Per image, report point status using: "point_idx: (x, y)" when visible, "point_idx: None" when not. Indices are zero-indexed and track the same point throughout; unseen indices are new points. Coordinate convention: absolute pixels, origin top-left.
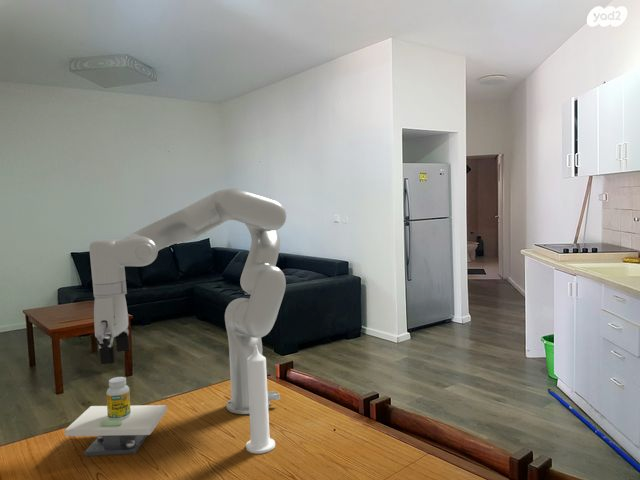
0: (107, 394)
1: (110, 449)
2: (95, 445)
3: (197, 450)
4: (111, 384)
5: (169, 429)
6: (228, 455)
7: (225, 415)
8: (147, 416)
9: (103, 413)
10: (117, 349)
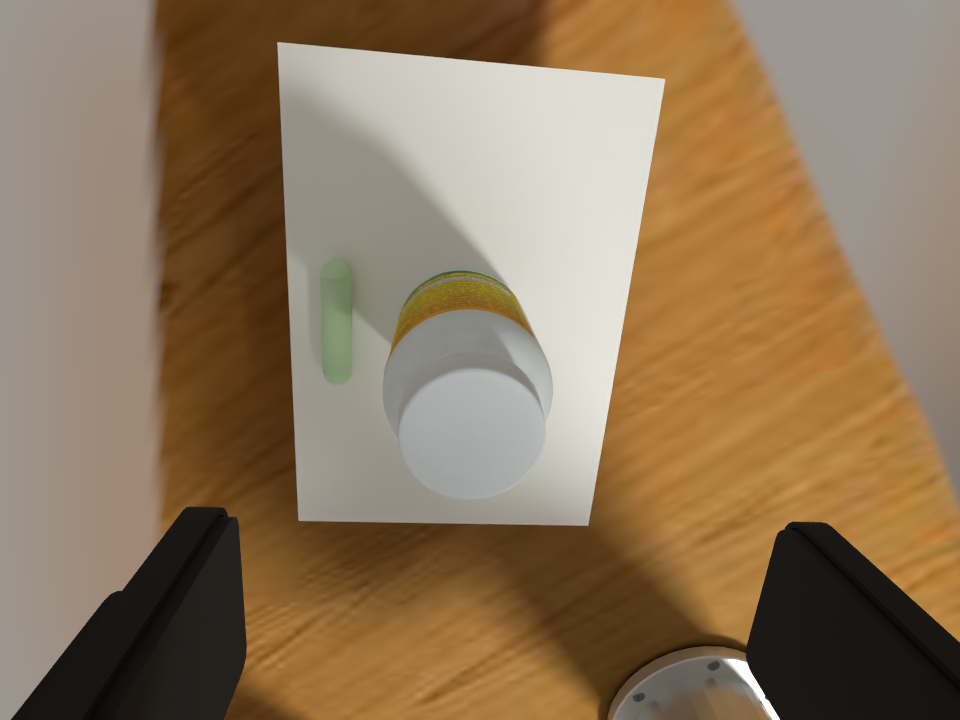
0: (409, 332)
1: None
2: None
3: (335, 608)
4: (406, 398)
5: None
6: (288, 702)
7: (624, 648)
8: None
9: (520, 216)
10: (793, 548)
